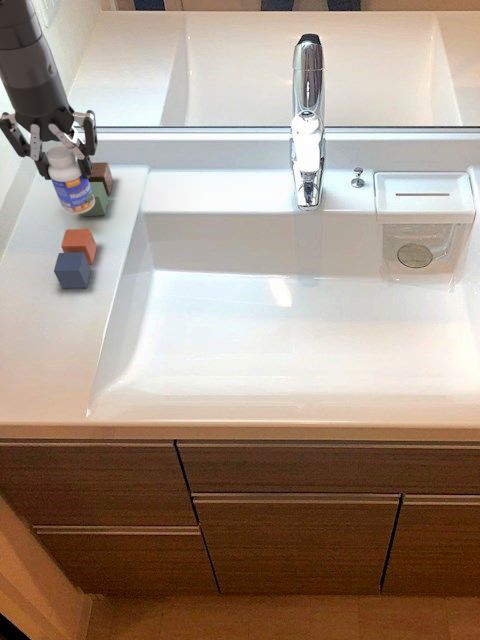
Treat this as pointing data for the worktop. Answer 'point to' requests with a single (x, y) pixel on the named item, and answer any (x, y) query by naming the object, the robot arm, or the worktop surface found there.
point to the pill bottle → (69, 181)
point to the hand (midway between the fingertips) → (68, 176)
